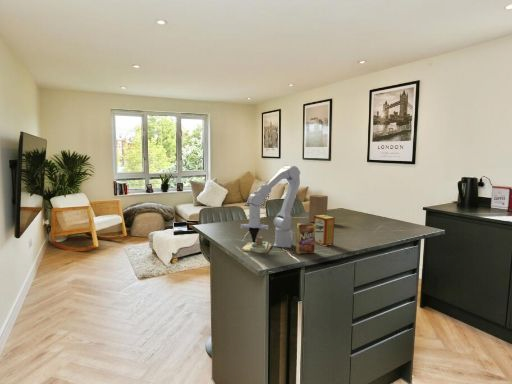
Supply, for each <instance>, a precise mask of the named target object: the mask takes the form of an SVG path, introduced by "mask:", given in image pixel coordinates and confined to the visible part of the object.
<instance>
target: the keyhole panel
mask: <svg viewBox="0 0 512 384" xmlns="http://www.w3.org/2000/svg"><path fill="white" fill-rule="evenodd" d="M263 239H264V238H263V236H256V243H255V242H253V241H252V242H251V243H252V244H253V243H255V244H256V247H253V246H252V244H251V247H250V250H263V251H266V250H267V246H268V244H269V242H268V241H263ZM257 247H260V248H257Z"/></svg>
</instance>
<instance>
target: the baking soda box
mask: <svg viewBox="0 0 512 384" xmlns="http://www.w3.org/2000/svg"><path fill="white" fill-rule="evenodd" d="M314 224H315V225H316V230H315V244H316V243H319V244H322V245H329V244H333V245H334V237H335V236H334V235H335V217H333V216H330V215H328V214H327V215H317V216H314ZM319 244H318V245H319ZM322 245H321V246H322Z"/></svg>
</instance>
